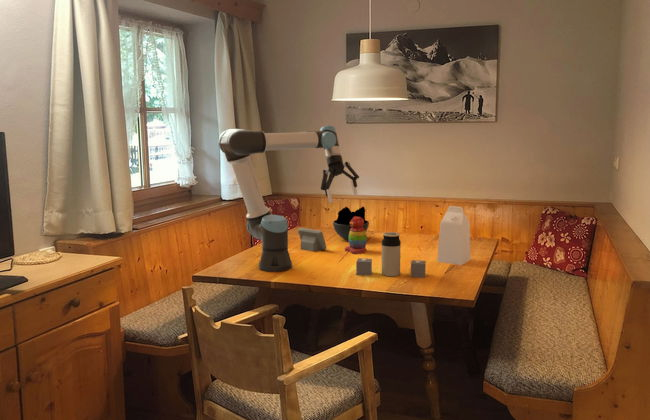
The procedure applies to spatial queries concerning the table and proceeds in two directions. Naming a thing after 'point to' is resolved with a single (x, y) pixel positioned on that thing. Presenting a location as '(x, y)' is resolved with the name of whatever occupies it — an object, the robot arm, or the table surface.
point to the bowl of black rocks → (348, 221)
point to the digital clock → (311, 239)
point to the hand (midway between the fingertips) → (343, 198)
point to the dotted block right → (418, 268)
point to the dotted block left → (363, 266)
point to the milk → (454, 237)
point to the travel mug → (391, 254)
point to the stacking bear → (357, 236)
